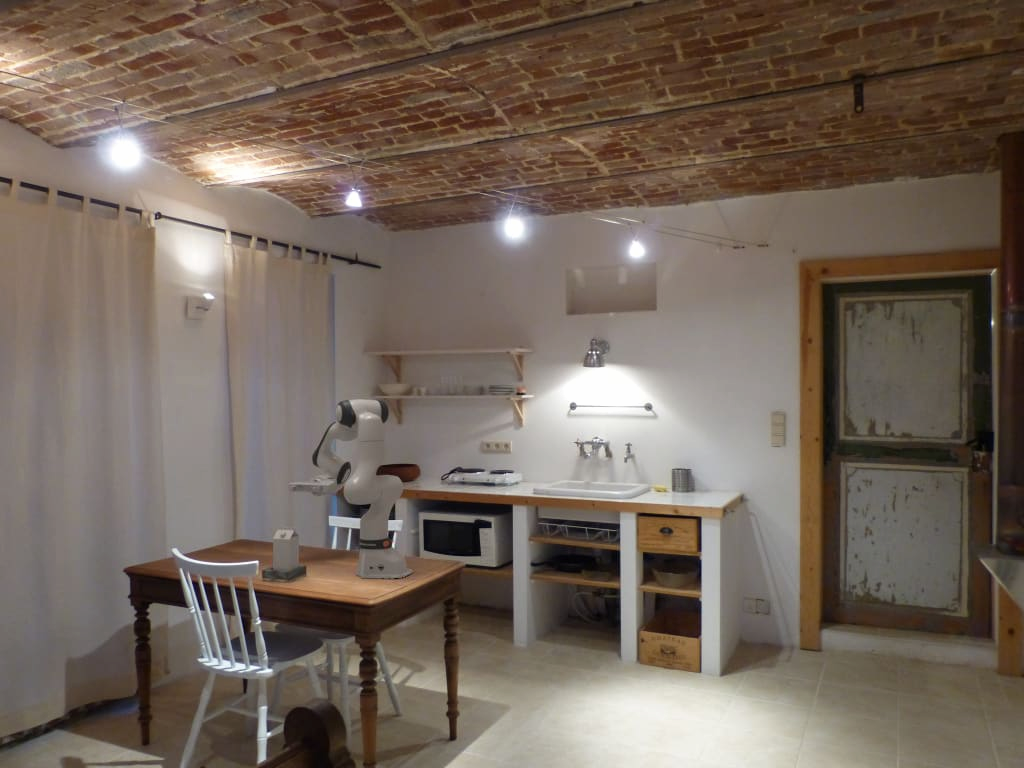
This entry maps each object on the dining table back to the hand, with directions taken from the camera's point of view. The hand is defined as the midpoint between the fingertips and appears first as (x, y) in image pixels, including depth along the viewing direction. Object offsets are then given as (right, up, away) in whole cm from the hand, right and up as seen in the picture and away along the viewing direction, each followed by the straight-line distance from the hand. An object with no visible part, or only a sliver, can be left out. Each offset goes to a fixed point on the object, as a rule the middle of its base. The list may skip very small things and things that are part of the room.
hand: (302, 489), depth 322 cm
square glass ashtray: (0, -32, -24) cm, 39 cm away
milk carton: (0, -31, -24) cm, 39 cm away
